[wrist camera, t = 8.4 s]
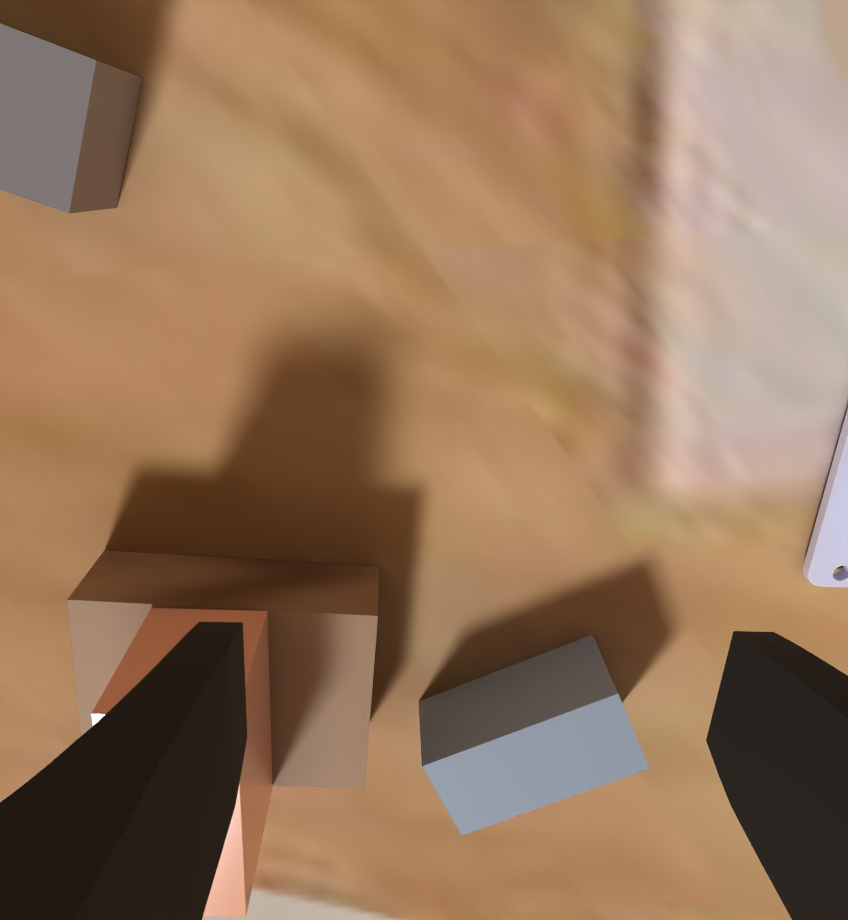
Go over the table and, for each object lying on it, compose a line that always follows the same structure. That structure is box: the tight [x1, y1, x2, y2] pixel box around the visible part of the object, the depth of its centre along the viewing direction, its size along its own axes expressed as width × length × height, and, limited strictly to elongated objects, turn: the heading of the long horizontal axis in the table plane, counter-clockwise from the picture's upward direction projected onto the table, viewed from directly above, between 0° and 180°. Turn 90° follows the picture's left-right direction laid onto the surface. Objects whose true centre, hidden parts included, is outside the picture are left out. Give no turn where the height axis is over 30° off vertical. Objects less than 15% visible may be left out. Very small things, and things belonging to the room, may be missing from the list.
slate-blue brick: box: [419, 634, 649, 835], centre depth 23 cm, size 6×3×3 cm, turn 113°
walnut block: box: [67, 550, 379, 789], centre depth 22 cm, size 8×6×3 cm
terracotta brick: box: [91, 608, 272, 916], centre depth 18 cm, size 3×6×4 cm, turn 177°
